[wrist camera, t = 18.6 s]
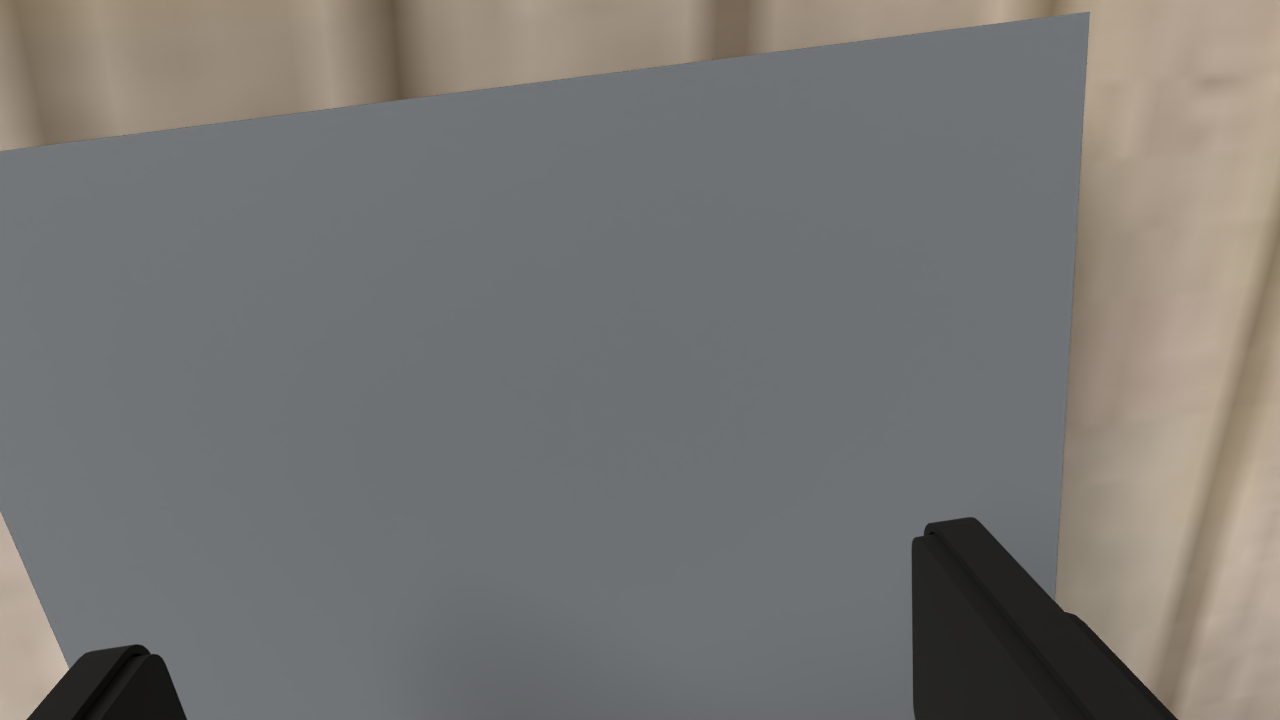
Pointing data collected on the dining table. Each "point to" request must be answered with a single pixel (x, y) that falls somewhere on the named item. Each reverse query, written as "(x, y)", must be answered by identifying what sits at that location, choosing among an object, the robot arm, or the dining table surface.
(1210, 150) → the dining table surface
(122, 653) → the robot arm
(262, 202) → the podium
